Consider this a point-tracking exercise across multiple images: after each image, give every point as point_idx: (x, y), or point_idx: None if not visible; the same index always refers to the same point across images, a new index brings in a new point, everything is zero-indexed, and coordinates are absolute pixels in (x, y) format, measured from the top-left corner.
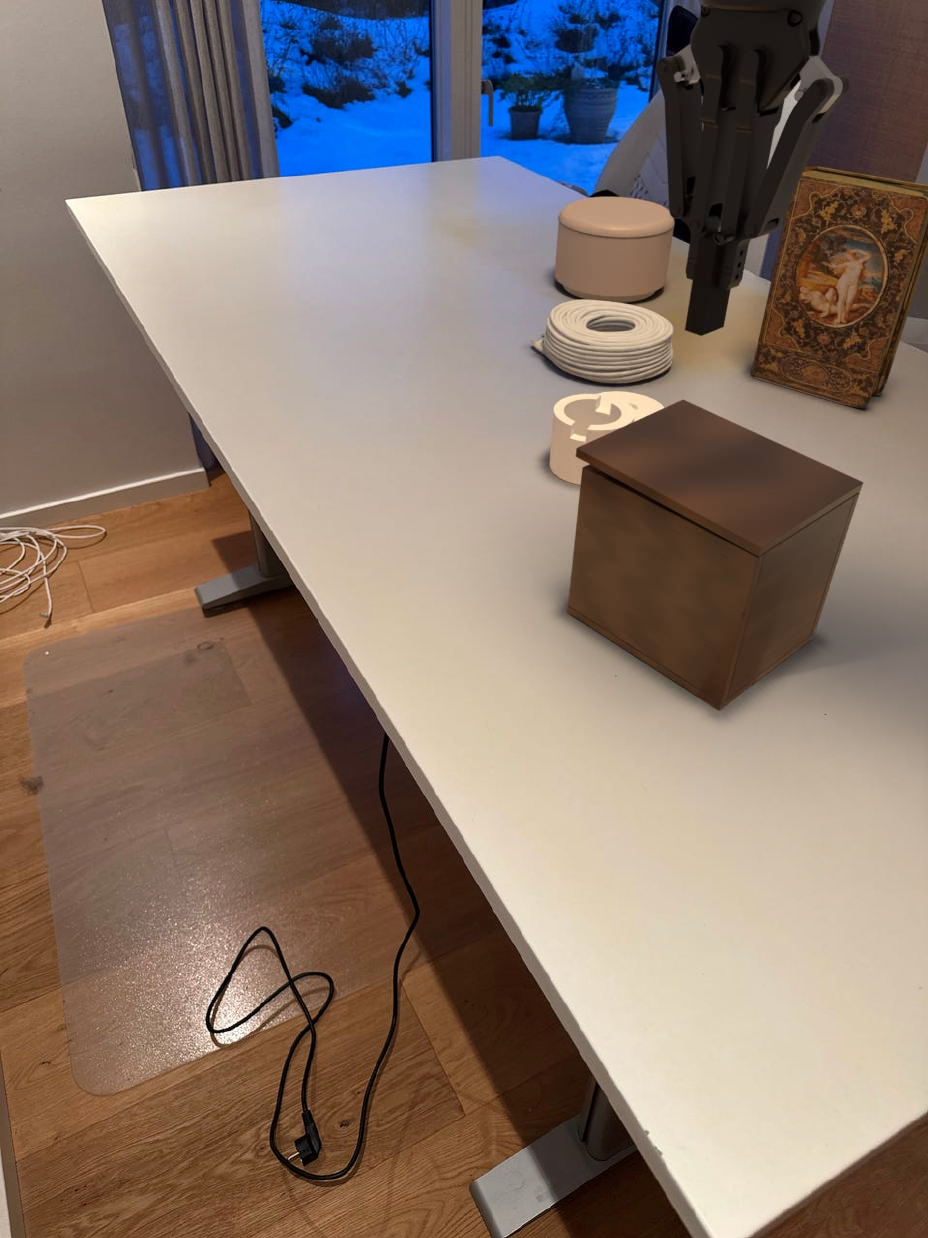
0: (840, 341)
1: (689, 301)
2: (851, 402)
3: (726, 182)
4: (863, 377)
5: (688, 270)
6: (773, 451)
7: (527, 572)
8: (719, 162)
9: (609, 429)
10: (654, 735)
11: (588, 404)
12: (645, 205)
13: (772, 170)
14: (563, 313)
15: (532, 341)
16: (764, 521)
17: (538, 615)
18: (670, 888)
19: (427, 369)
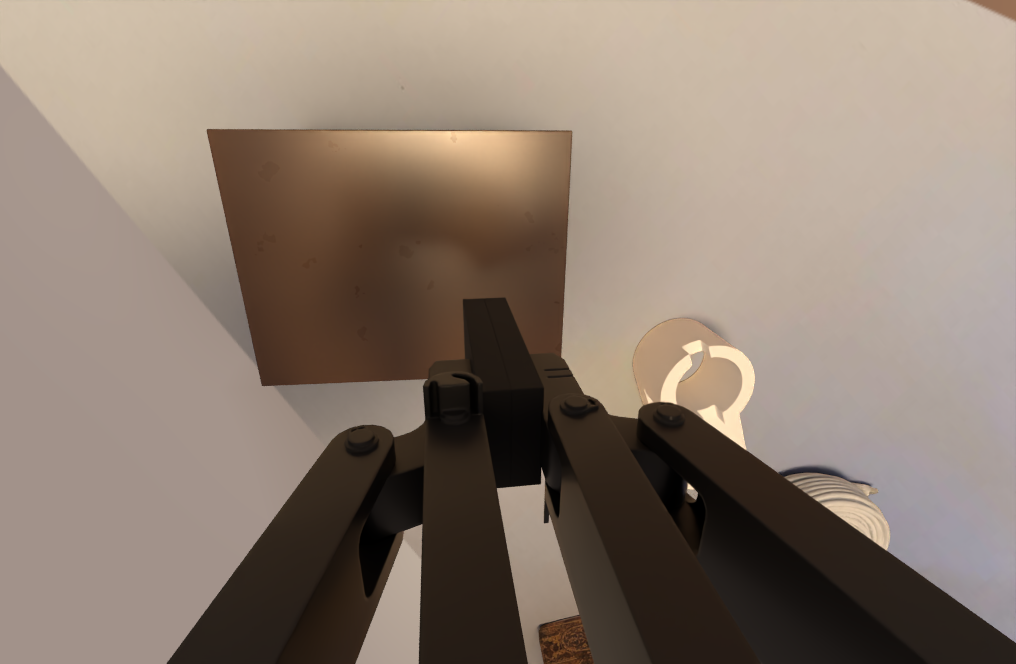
0: None
1: (514, 319)
2: (553, 625)
3: (574, 574)
4: (555, 654)
5: (556, 360)
6: (386, 357)
7: (591, 153)
8: (604, 594)
9: (669, 373)
10: (307, 41)
11: (725, 403)
12: None
13: (260, 623)
14: (873, 532)
15: (874, 488)
16: (257, 194)
17: (530, 102)
18: None
19: (940, 367)
